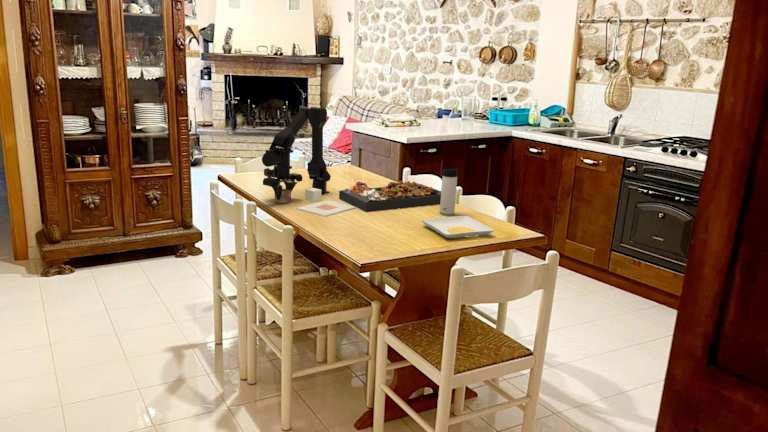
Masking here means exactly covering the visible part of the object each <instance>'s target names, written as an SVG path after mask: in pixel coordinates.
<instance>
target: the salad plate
mask: <svg viewBox="0 0 768 432" xmlns="http://www.w3.org/2000/svg"><path fill="white" fill-rule="evenodd" d="M421 222H422V224H423V225H425V226H426V227H427V228H429V229H430V230H431V229H432V230H433V231H434V230H435V231H434V232H436V233H438V234H439V233H440V234H439V235H441V236H442V237H445V238H447V239H457V238H456V237H465V236H476V235H483V236H486V235H490V234H491V233H493V232H494V229H493V228H492V227H489V226H487V225H485V224H484V223H482V222H480V221H479V220H476V219H474V218H473V217H470V216H468V215H458V216H457V215H456V216H454V215H453V216H441V217H433V218H432V217H431V218H424V219H423V218H422V219H421ZM453 227H465V228H470V229H471V230H473V229H474V230H475V231H476V232H465V233H457V234H451V233H449V232H448V231H447V230H448V228H450V229H451V228H453ZM476 237H477V236H476ZM465 238H466V237H465Z"/></svg>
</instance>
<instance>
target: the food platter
mask: <svg viewBox="0 0 768 432" xmlns="http://www.w3.org/2000/svg"><path fill="white" fill-rule="evenodd" d="M353 179H354V181H355V183H356V184H353V185H351V186H350V187H349V188H350V189H349V188H346V189H343V190H339V195H338V200H341V201H342V202H344V203H347V205H350V206H354V207H356V209H359V210H361V211H363V212H365V213H368V212H369V213H370V212H378V211H379V212H380V211H388V210H390V209H391V210H399V209H398V208H400V209H409V207H410V208H418V206H420V207H428V206H427V205H429V206H438V205H437V204H439V205H440V201H441V190H438V189H436V188H434V187H432V186H428V185H425V184H422V183H419V182H415V181H412V182H411V181H410V180H409V181H404V182H403V180H400V181H398V182H394V181H390V182H389V183H387V185H385V186H382V187H380V186H379V187H369V186H368V184H366V182H361V181H356V179H355V178H353Z"/></svg>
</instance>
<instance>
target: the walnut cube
mask: <svg viewBox="0 0 768 432" xmlns="http://www.w3.org/2000/svg"><path fill="white" fill-rule="evenodd" d="M274 202H276V203H280V204H286V203H290V202H292V192H291V190H287V189H286V188H282V192H281V197H280V200H277V198H276V195H275V194H274Z"/></svg>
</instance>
